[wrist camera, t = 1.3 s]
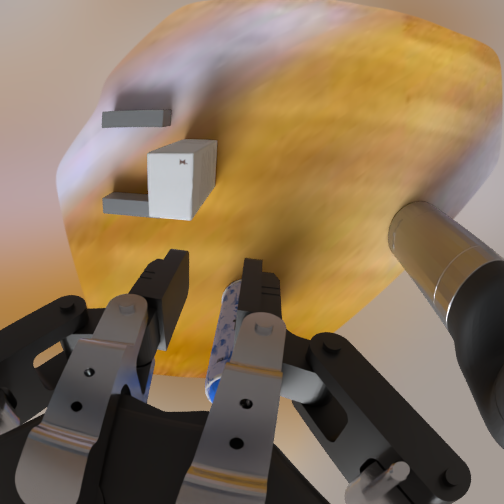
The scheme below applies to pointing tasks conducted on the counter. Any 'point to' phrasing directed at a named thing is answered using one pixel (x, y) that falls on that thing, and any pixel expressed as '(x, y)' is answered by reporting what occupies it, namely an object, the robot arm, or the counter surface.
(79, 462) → the robot arm
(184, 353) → the counter surface
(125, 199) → the charcoal cradle
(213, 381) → the aerosol can
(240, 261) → the counter surface
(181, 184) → the skincare box
